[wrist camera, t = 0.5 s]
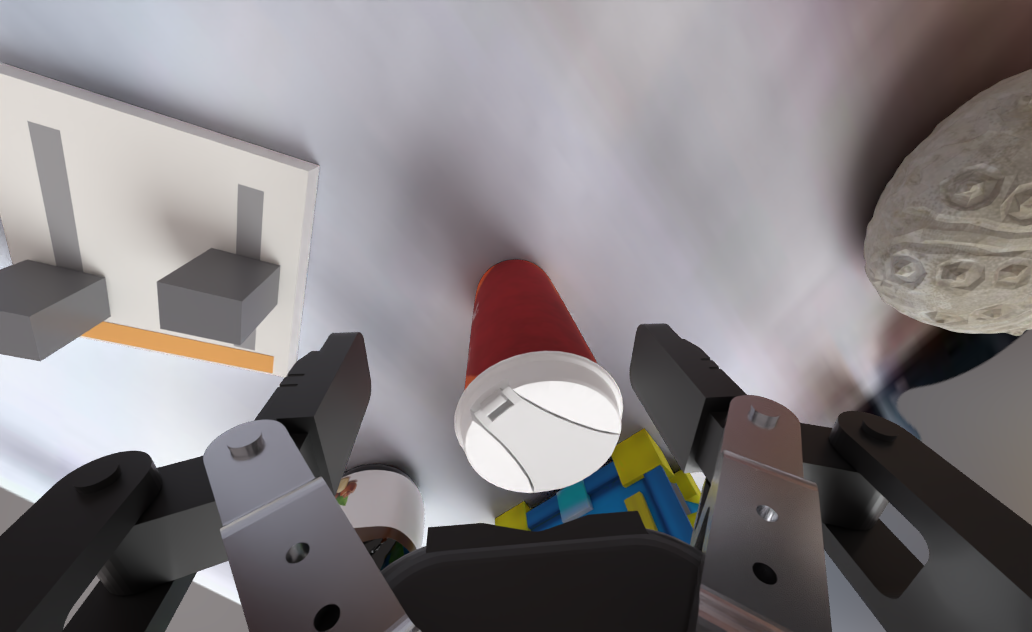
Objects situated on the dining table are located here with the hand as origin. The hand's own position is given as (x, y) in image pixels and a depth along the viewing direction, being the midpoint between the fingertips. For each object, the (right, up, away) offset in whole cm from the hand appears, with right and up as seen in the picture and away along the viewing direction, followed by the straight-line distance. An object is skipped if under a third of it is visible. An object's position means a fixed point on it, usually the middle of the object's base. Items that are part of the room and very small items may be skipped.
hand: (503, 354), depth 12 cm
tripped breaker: (-17, +4, +14) cm, 23 cm away
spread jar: (-15, -18, +30) cm, 38 cm away
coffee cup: (0, +3, +20) cm, 20 cm away
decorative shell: (+33, +11, +19) cm, 40 cm away
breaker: (-28, +3, +14) cm, 31 cm away
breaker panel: (-22, +6, +15) cm, 27 cm away
